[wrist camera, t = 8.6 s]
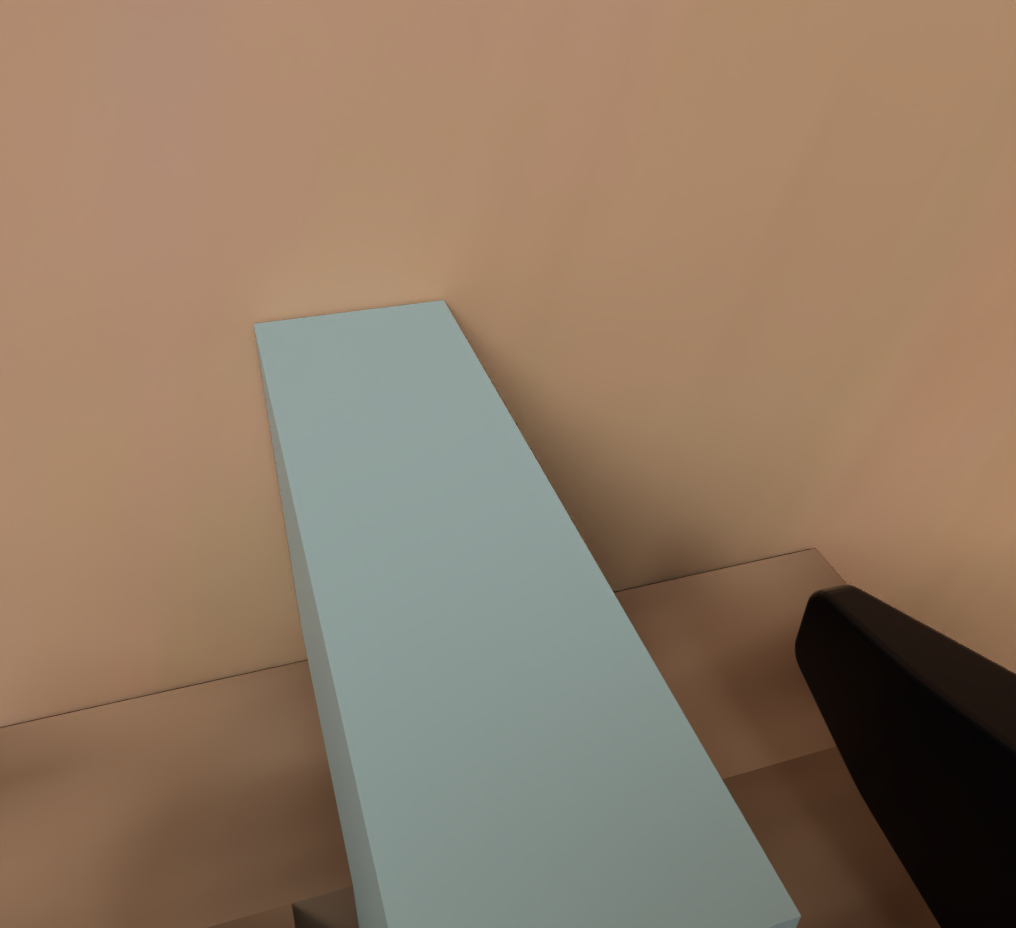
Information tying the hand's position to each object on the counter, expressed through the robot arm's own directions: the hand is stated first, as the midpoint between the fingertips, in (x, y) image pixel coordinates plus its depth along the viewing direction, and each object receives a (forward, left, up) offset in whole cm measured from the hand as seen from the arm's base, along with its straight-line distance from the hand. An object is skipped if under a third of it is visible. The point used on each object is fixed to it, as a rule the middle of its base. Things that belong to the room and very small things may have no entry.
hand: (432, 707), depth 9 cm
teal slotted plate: (0, +3, -3) cm, 5 cm away
